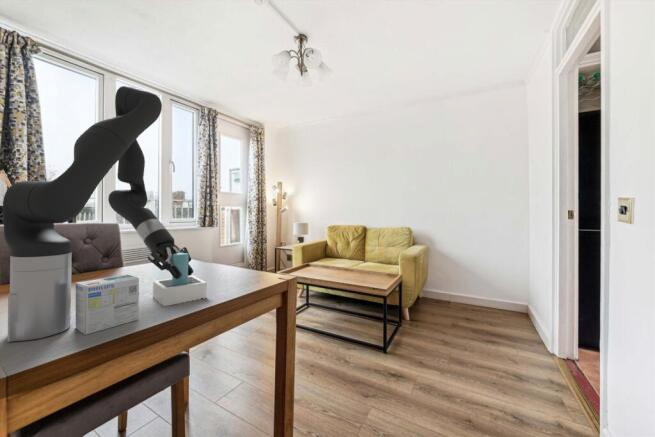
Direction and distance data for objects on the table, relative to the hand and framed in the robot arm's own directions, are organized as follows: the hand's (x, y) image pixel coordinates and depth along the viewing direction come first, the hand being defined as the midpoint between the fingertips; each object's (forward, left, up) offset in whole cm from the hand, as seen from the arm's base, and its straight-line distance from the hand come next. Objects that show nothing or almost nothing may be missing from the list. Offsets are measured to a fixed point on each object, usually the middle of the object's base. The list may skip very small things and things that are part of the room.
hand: (185, 275), depth 85 cm
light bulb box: (-20, -9, -7) cm, 23 cm away
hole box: (-1, +2, -7) cm, 7 cm away
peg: (-1, +2, -5) cm, 6 cm away
